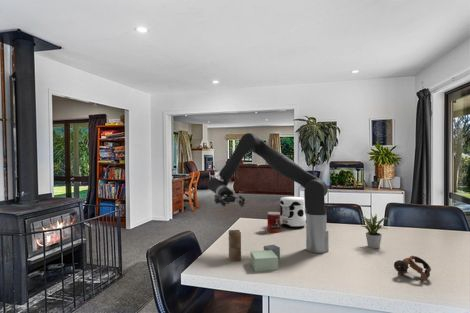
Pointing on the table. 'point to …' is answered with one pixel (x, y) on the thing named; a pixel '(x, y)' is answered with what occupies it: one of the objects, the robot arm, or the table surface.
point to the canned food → (273, 222)
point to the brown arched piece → (413, 266)
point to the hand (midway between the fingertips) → (233, 204)
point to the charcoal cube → (273, 249)
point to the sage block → (264, 260)
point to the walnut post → (234, 245)
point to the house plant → (373, 232)
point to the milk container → (292, 212)
